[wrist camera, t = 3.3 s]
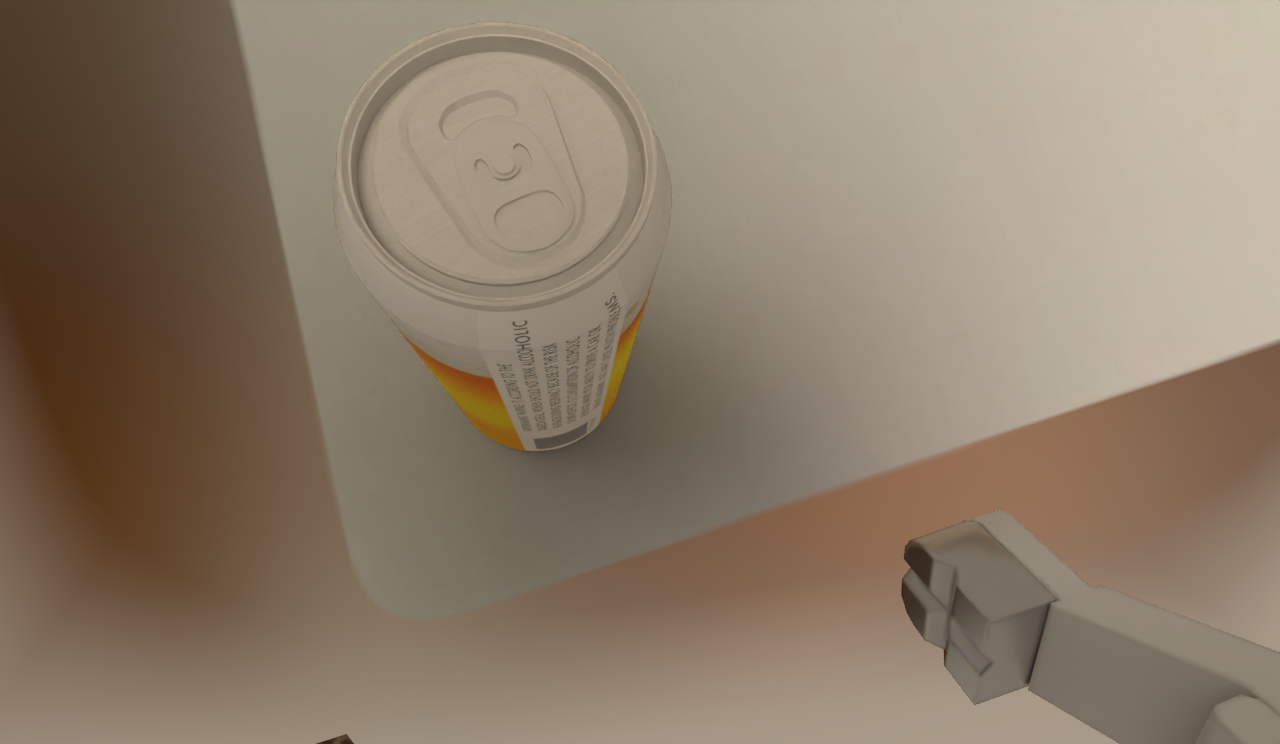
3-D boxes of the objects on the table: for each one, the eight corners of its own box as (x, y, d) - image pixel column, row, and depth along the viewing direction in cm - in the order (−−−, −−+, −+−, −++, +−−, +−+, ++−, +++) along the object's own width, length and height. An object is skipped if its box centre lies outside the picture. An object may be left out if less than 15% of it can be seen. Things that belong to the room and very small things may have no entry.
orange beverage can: (576, 271, 27) (584, -42, 13) (648, 409, 26) (744, 239, 12) (429, 335, 26) (254, 71, 12) (497, 483, 25) (398, 393, 11)
